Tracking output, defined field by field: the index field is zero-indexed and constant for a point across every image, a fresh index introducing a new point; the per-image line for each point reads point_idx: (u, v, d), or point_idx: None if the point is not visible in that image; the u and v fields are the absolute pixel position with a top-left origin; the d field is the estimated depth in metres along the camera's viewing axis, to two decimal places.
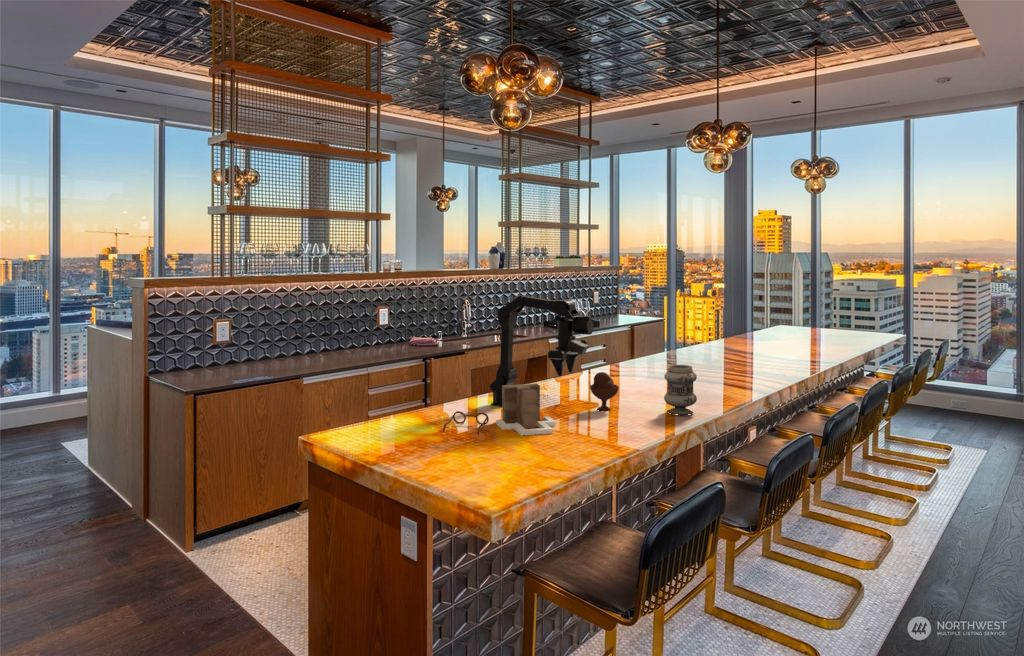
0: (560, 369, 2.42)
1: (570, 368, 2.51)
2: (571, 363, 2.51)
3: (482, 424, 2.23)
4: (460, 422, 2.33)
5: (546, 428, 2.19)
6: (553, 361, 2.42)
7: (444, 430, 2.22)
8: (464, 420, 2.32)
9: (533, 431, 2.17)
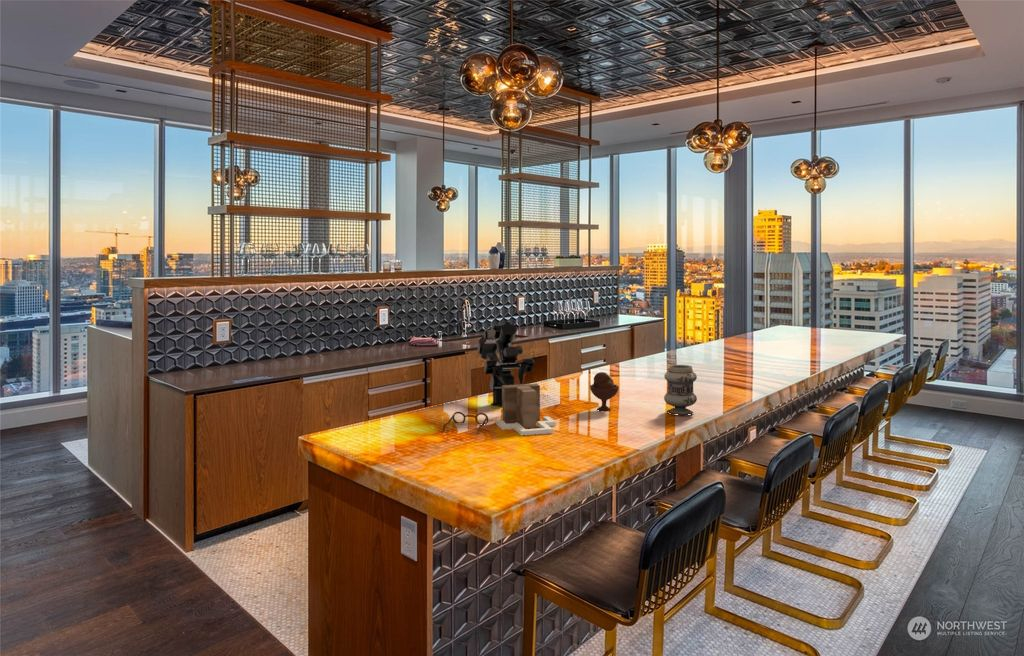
0: (501, 378, 2.44)
1: (520, 379, 2.46)
2: (520, 375, 2.47)
3: (482, 424, 2.22)
4: (460, 422, 2.32)
5: (546, 428, 2.19)
6: (496, 375, 2.48)
7: None
8: (464, 420, 2.31)
9: (533, 431, 2.17)
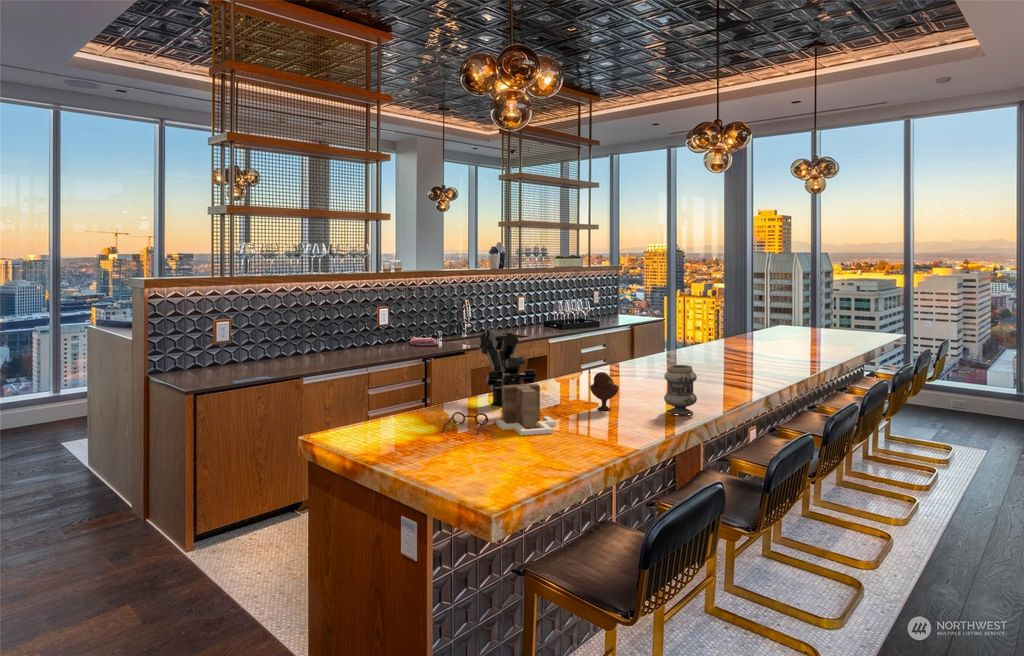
0: None
1: None
2: None
3: (481, 425, 2.22)
4: (459, 423, 2.32)
5: (546, 428, 2.19)
6: None
7: (443, 431, 2.21)
8: (463, 421, 2.31)
9: (533, 431, 2.17)
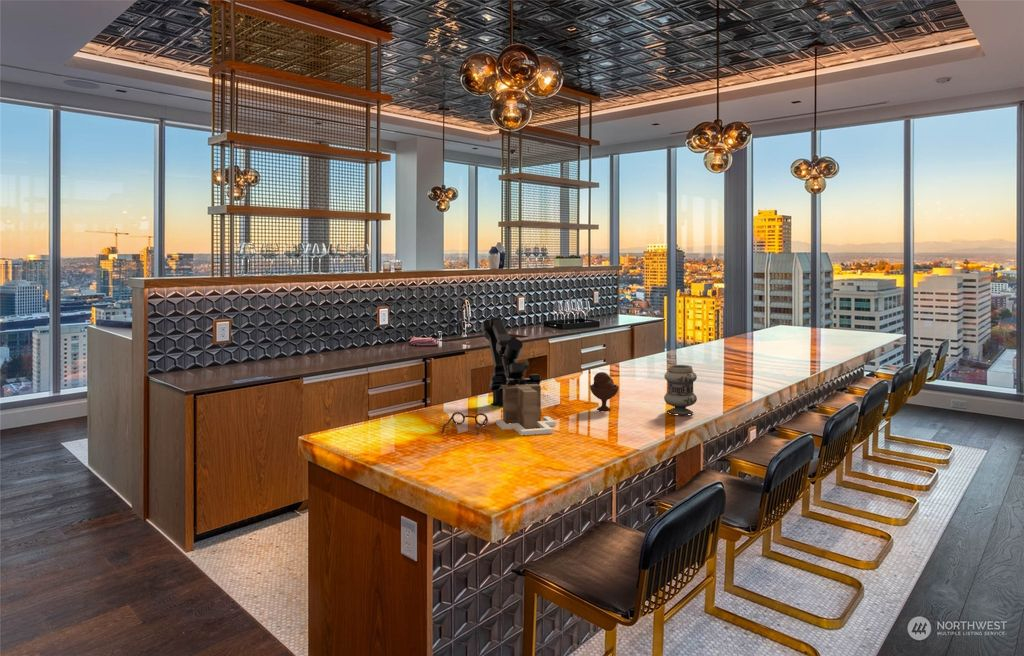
0: None
1: None
2: None
3: (481, 425, 2.22)
4: (459, 423, 2.31)
5: (546, 428, 2.19)
6: None
7: (443, 431, 2.21)
8: (463, 421, 2.31)
9: (533, 431, 2.17)
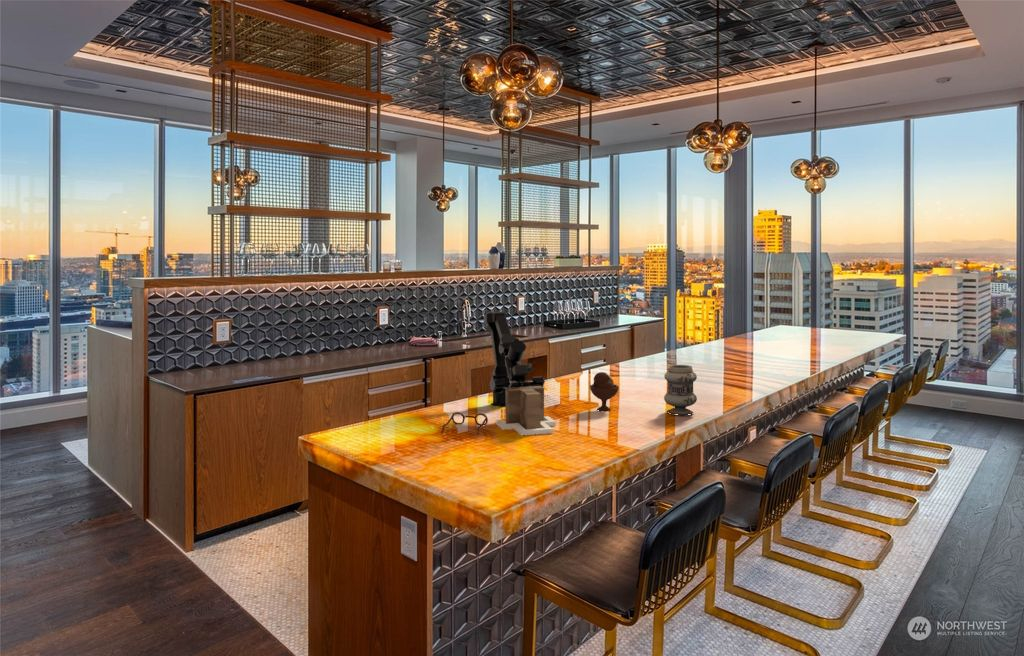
0: None
1: None
2: None
3: (481, 425, 2.21)
4: (459, 423, 2.31)
5: (546, 428, 2.19)
6: None
7: (443, 431, 2.20)
8: (463, 421, 2.30)
9: (533, 431, 2.17)
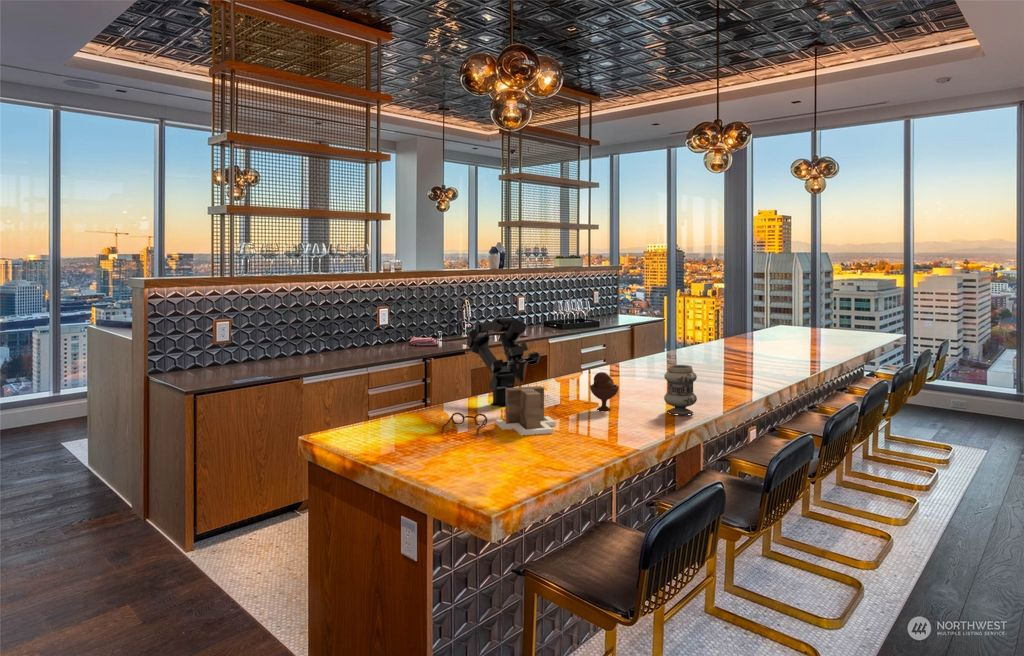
0: (517, 375, 2.47)
1: None
2: (520, 373, 2.48)
3: (481, 425, 2.21)
4: (458, 423, 2.31)
5: (546, 428, 2.19)
6: (511, 372, 2.51)
7: (442, 431, 2.20)
8: (463, 421, 2.30)
9: (533, 431, 2.17)
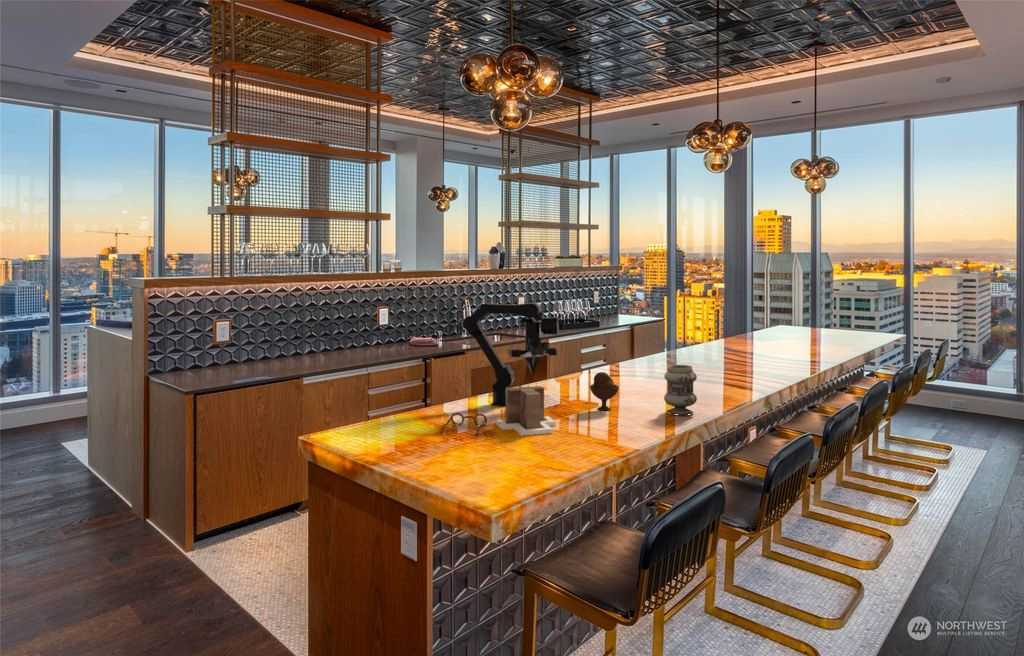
0: (530, 367, 2.58)
1: None
2: (533, 364, 2.58)
3: (480, 426, 2.21)
4: None
5: (546, 428, 2.19)
6: (526, 358, 2.60)
7: (442, 432, 2.20)
8: (462, 422, 2.30)
9: (533, 431, 2.17)
